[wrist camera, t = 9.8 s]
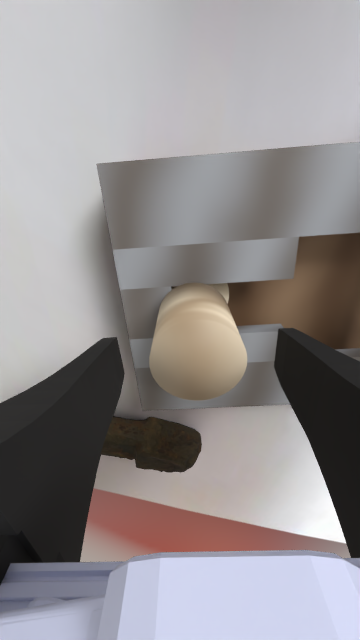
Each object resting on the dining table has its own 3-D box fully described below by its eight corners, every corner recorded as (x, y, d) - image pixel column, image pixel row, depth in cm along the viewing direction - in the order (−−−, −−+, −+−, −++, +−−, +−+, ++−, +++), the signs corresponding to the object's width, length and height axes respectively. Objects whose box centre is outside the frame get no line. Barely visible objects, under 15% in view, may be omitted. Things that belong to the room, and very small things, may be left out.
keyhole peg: (224, 251, 17) (262, 301, 9) (226, 317, 19) (257, 404, 11) (152, 259, 17) (125, 314, 9) (162, 322, 20) (147, 412, 11)
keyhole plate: (411, 147, 15) (495, 130, 11) (350, 363, 22) (387, 400, 18) (118, 171, 16) (96, 163, 12) (149, 373, 23) (142, 410, 19)
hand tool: (17, 418, 26) (-14, 460, 22) (14, 390, 24) (-20, 430, 20) (193, 445, 28) (195, 489, 24) (202, 420, 26) (206, 463, 22)
